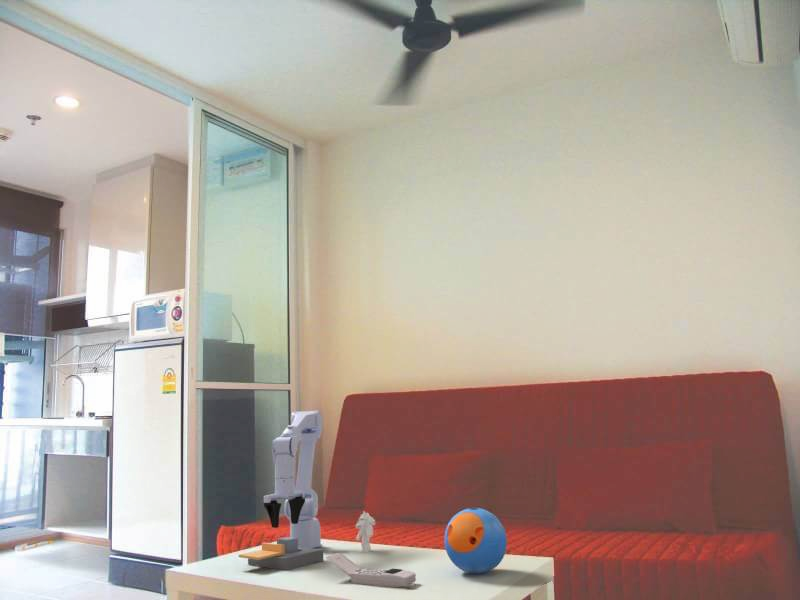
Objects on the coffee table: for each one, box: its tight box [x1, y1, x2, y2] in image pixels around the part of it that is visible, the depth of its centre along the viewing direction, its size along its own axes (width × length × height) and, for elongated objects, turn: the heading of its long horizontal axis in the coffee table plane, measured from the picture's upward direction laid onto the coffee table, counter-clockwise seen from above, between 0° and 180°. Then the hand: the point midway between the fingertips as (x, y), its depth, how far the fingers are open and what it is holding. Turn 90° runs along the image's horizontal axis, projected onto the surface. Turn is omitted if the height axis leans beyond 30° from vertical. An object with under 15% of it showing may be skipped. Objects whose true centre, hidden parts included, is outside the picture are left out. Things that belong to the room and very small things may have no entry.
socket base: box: [247, 547, 324, 571], centre depth 181 cm, size 14×16×3 cm
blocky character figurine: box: [355, 510, 376, 553], centre depth 195 cm, size 9×4×12 cm, turn 152°
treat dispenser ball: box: [443, 507, 508, 575], centre depth 160 cm, size 16×15×15 cm
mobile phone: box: [325, 552, 417, 589], centre depth 154 cm, size 6×6×25 cm
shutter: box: [238, 542, 285, 560], centre depth 175 cm, size 9×8×2 cm
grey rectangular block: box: [276, 536, 298, 554], centre depth 183 cm, size 4×4×5 cm
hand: (284, 525), depth 189 cm, fingers open, 7 cm apart
